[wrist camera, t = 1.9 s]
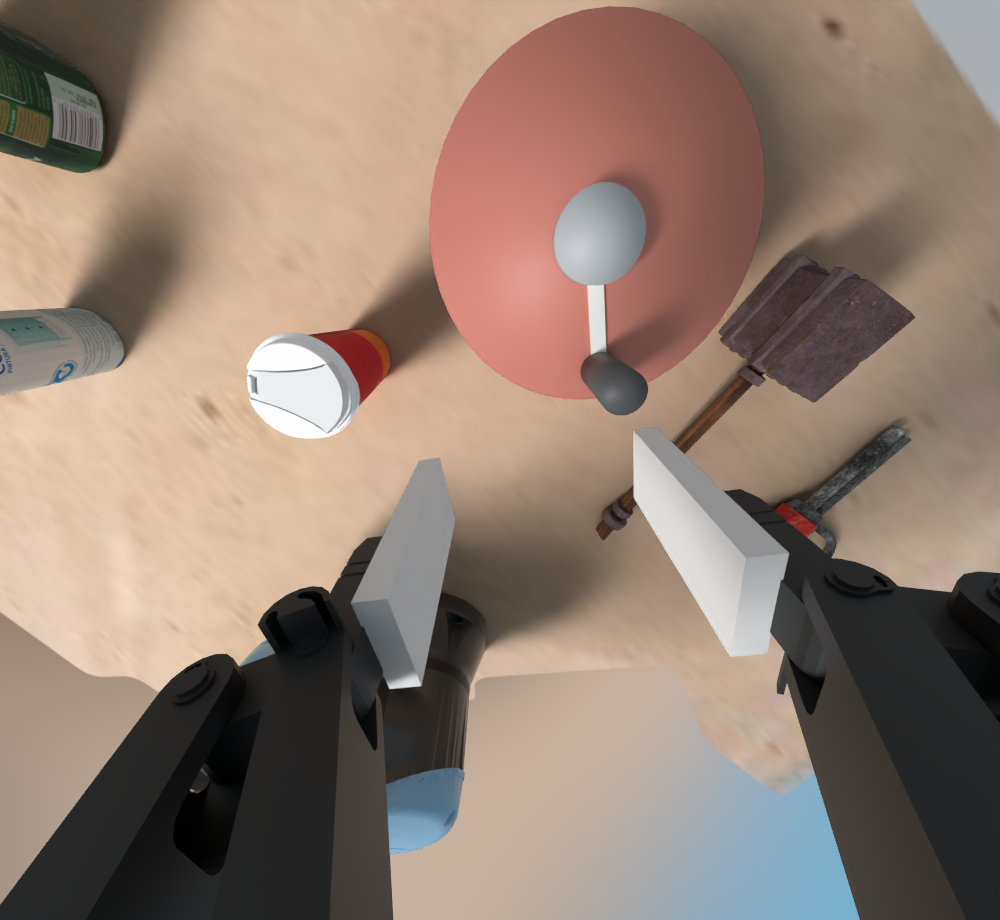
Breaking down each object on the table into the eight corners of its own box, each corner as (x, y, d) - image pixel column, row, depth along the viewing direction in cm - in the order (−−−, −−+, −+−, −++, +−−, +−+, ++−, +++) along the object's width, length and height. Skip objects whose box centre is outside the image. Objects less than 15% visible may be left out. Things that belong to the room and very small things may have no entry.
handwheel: (408, 93, 23) (342, -36, 14) (741, 19, 22) (921, -182, 12) (470, 401, 31) (455, 450, 22) (712, 364, 30) (805, 400, 21)
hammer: (840, 288, 34) (933, 317, 26) (615, 510, 52) (628, 568, 44) (786, 248, 32) (865, 266, 24) (575, 490, 51) (580, 546, 43)
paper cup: (325, 385, 39) (242, 433, 27) (326, 309, 36) (231, 323, 24) (399, 400, 40) (351, 454, 27) (406, 327, 37) (355, 349, 24)
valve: (743, 593, 54) (680, 555, 49) (906, 460, 46) (853, 397, 41) (777, 630, 49) (711, 593, 43) (969, 487, 41) (918, 419, 35)
